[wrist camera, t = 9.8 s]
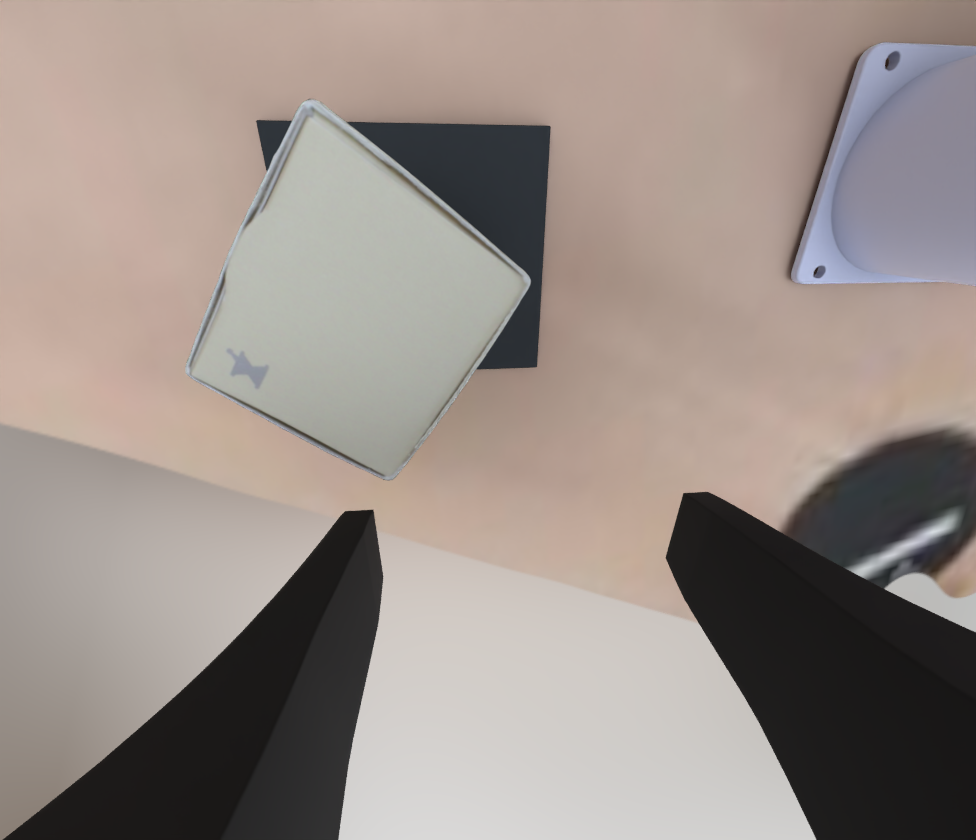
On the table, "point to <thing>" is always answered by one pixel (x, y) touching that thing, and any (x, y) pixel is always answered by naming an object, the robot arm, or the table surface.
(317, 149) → the product carton box
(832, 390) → the table surface
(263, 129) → the pad
